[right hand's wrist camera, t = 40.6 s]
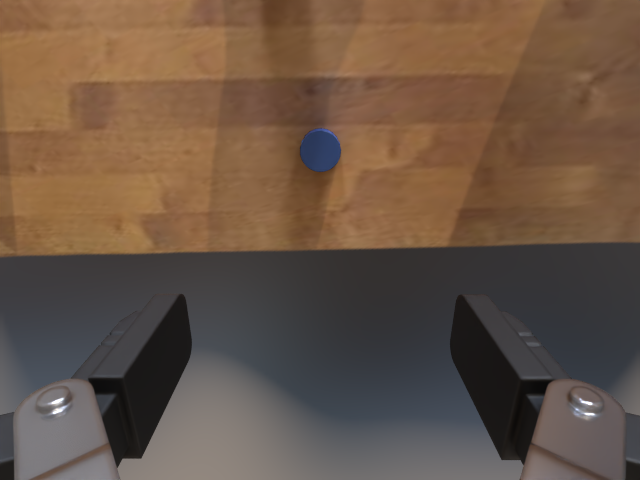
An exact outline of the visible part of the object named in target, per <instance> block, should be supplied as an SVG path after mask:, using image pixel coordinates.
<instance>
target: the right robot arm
mask: <svg viewBox="0 0 640 480" xmlns="http://www.w3.org/2000/svg"><path fill="white" fill-rule="evenodd" d="M191 348H192V339H191V332H190V325H189V318H188V311H187V304H186V299H185V297H184V295H183V294H156V295H154V296H153V298H152V299H151V300H150V301H149V303H148V304H147V305H146V306H145V307H144V309H143V310H142V311H135V312H134V313H132V314H130V315H129V316H127V317H126V318H124V319H123V320H121V321H120V322H119V323H118V324H117V325H116V326H115V328H114V329H113V330H112V331H111V332H110V335H108V336H107V337H106V338H105V339H104V340H103V342H102V343H101V346H98V347H97V348H96V350H95V351H94V352H93V353H92V354H91V355H90V357H89V358H88V359H87V360H86V361H85V362H84V364H83V365H82V366H81V367H80V368H79V369H78V371H77V372H76V373H75V374H74V375H73V376H72V377H71V379H66V380H61V381H57V382H54V383H51V384H49V385H46V386H44V387H42V388H40V389H38V390H37V391H35V392H34V393H32V394H31V395H29V396H28V397H27V398H26V399H24V400H23V401H22V402H21V403H20V405H19V406H18V407H17V409H16V410H15V412H12V413H8V414H3V415H0V480H120V477H119V474H118V470H117V468H118V466H119V464H120V462H121V460H122V458H142V456H143V454H144V452H145V450H146V448H147V446H148V444H149V441H150V439H151V437H152V435H153V433H154V431H155V429H156V427H157V425H158V423H159V421H160V419H161V417H162V415H163V412H164V410H165V408H166V406H167V404H168V402H169V400H170V398H171V396H172V394H173V392H174V390H175V388H176V386H177V384H178V382H179V379H180V377H181V375H182V373H183V371H184V369H185V367H186V365H187V363H188V361H189V358H190V354H191ZM450 349H451V355H452V359H453V362H454V364H455V366H456V368H457V370H458V372H459V374H460V376H461V378H462V380H463V382H464V384H465V386H466V388H467V390H468V392H469V394H470V396H471V398H472V400H473V402H474V405H475V406H476V409H477V411H478V413H479V415H480V417H481V419H482V421H483V423H484V425H485V427H486V429H487V431H488V433H489V435H490V437H491V439H492V441H493V443H494V445H495V447H496V449H497V451H498V453H499V455H500V457H501V459H502V460H521V462H522V463H523V465H524V467H523V470H522V474H521V477H520V480H640V416H639V415H634V414H630V413H626V412H625V410H624V409H623V407H622V406H621V405H620V403H619V402H618V401H617V400H616V399H614V398H613V397H612V396H611V395H609V394H608V393H607V392H605V391H603V390H602V389H600V388H598V387H596V386H594V385H591V384H589V383H586V382H583V381H579V380H574V379H572V378H571V377H570V376H569V375H568V374H567V373H566V371H565V370H564V369H563V368H562V367H561V366H560V365H559V363H558V362H557V361H556V360H555V359H554V358H553V356H552V355H551V354H550V353H549V352H548V351H547V350H546V348H545V347H543V346H542V345H541V343H540V342H539V340H538V339H537V338H536V337H535V336H533V333H532V332H531V331H530V330H529V329H528V328H527V327H526V325H525V324H524V323H523V322H522V321H520V320H519V319H517V318H516V317H514V316H512V315H511V314H509V313H508V312H501V311H500V310H499V309H498V308H497V306H496V305H495V304H494V303H493V301H492V300H491V299H490V298H489V297H488V296H487V295H459V296H458V297H457V300H456V305H455V312H454V319H453V325H452V332H451V339H450Z"/></svg>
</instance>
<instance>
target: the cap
mask: <svg viewBox="0 0 640 480" xmlns="http://www.w3.org/2000/svg"><path fill="white" fill-rule="evenodd" d="M301 143H302V144H301V147H300V155H301V158H302V161H303V162H304V164H305V165H306V166H307V167H308V168H309V169H311V170H313V171H317V172H324V171H327V170H330V169H331V168H333V167H334V166H335V165H336V164H337V162H338V160H339V158H340V154H341V149H340V143H339V141H338V139H337V136H335V135H334V134H333V132H331V131H329V130H328V129H327V130H326V129H322V128H321V129H315V130H312V131H310V132H309V133H308V134H307V135H305V137H304V139H303V140H302V142H301Z"/></svg>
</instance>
